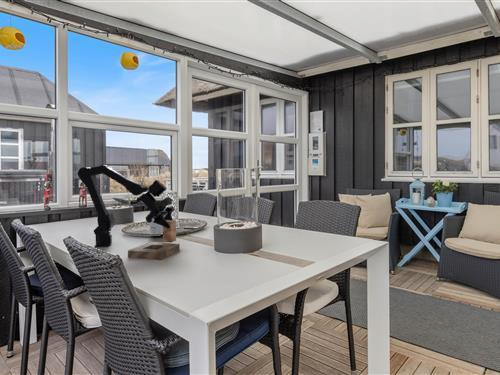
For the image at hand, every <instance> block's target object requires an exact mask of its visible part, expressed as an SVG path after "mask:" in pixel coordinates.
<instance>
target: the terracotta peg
mask: <svg viewBox="0 0 500 375" xmlns="http://www.w3.org/2000/svg"><path fill="white" fill-rule="evenodd" d="M166 221H167V223H168V224H169V226H170V228H166V227H164V226H163V236H162V243H172V244H173V243H174V242H176V241H177V220H176V219H173V220H166Z"/></svg>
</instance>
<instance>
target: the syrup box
mask: <svg viewBox="0 0 500 375" xmlns="http://www.w3.org/2000/svg"><path fill="white" fill-rule="evenodd" d="M153 221H154V218H153V219H152V222H150V223H149V224H150V227H149V228H150V230H149V231H150V234H151V233H153V234H161V233H163V226H161V225H159V224H156V223H153Z"/></svg>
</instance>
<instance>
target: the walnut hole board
mask: <svg viewBox="0 0 500 375" xmlns="http://www.w3.org/2000/svg"><path fill="white" fill-rule="evenodd" d="M180 250H181V248H180V243H173V242H172V243H171V242H158V241H157V242H156V241H153V242H151V241H148V242H145V243H143V244H140V245H138V246H135V247H133V248H130V249H128V250H127V258H133V259H134V258H135V259H142V260H143V259H144V260H157V261H158V260H159V261H162V260H163V259H164V260H165V259H166V258H168V257H170V256H171V255H174V254H176V253H177V252H179V251H180Z"/></svg>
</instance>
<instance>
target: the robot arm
mask: <svg viewBox="0 0 500 375" xmlns="http://www.w3.org/2000/svg"><path fill="white" fill-rule="evenodd" d="M77 175H78V178H79V180H80V181H81V182H82V184H83V185H84V186H85V187H86V189H87V191H88V193H89V196H90V199H91V201H92V204H93V207H94V209H95V212H96V213H97V216H96V218H97V220H96V221H97V226H96V227H95V228H94V229H93V233H94V235H95V245H94V247H95V248H97V247H110V245H111V246H112V244H113V237H112V234H111V231H112V228H113V227H114V226H115V225H116V224H115V223H116V218H115V217H114V214H113V212H109V211H108V210H107V207H106V204H105V203H104V200H103V197H102V195H101V192H100V189H99V187H98V184H97V176H98V175H105V176H106V177H108V178H110V179H112V180H113V181H114V182H116V183H118V184H120V185H122V186H123V187H124V188H125V189H126V190H127V191H128V192H129V193H131V195H133V196H137V197H136V204H141V203H142V204H143V205H144V206H145V207H146V211H147V212H149V213H148V214H147V215H146V216H145V221H146V222H147V224H150V222H152V219H153V218H154V221H153V223H156V224H159V225H161V226H164V227H166V228H170V226H169V224H168V223H167V221H166V220H174V219H173V217H172V213H173V212H174V211H175V210H176V209H175V208H174V206H172V205H173V199H172V198H171V197H170V196H167V197H164V199H162V200H157V198H159V197H160V196H161V195H162V194H163V193H164V192H165V191H166V190H167V186H165V185H164V183H162V182H161V181H159V180H158V179H155V180H154V181H153V182H152V184H150V185H148V186H146V185H144V184H143V183H141V182H140V181H139V182H138V181H135V180H132V179H130V178H128V177H126V176H124V175H123V174H121V173H120V172H118V171H116V170H114V169H113V168H112V167H110V166H109V165H107V164H101V165H99V166H94V167H90V166H84V167H83V166H81V168H79V169H78V171H77ZM138 196H139V197H138ZM169 205H171V206H169Z"/></svg>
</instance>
